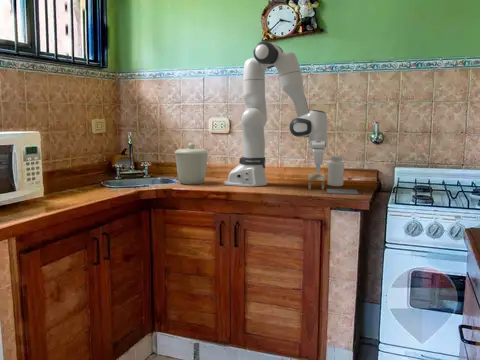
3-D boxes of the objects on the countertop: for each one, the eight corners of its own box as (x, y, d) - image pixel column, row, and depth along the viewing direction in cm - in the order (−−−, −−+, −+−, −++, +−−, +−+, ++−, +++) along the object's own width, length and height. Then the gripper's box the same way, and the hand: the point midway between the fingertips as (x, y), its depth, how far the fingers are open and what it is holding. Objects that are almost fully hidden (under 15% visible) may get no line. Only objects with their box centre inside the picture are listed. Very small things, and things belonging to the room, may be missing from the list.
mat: (327, 193, 212) (327, 192, 212) (326, 189, 223) (326, 188, 223) (358, 194, 209) (358, 193, 209) (355, 190, 221) (356, 189, 221)
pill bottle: (343, 186, 234) (344, 157, 232) (327, 186, 235) (328, 156, 233) (343, 184, 241) (344, 156, 239) (327, 184, 243) (328, 155, 241)
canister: (200, 186, 228) (200, 144, 225) (167, 184, 233) (167, 143, 230) (214, 182, 245) (214, 142, 242) (183, 180, 250) (183, 141, 248)
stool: (307, 189, 223) (308, 175, 222) (307, 187, 228) (308, 173, 227) (324, 189, 222) (324, 175, 221) (324, 188, 227) (324, 174, 226)
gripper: (311, 142, 233) (311, 169, 234) (311, 144, 213) (311, 174, 214) (324, 142, 232) (324, 169, 233) (325, 144, 212) (325, 174, 213)
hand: (318, 172), depth 224 cm, fingers open, 8 cm apart
